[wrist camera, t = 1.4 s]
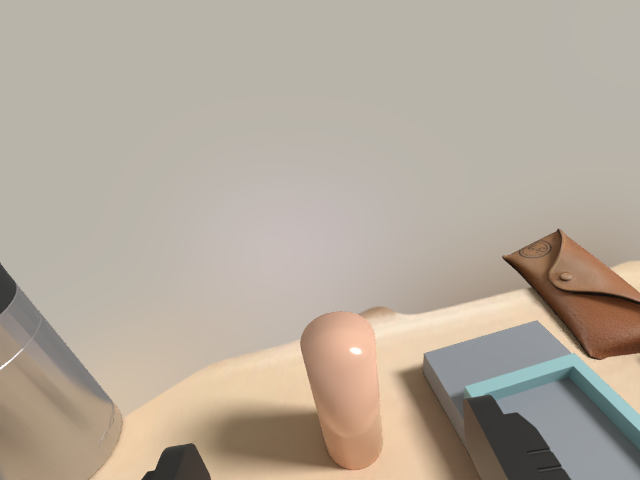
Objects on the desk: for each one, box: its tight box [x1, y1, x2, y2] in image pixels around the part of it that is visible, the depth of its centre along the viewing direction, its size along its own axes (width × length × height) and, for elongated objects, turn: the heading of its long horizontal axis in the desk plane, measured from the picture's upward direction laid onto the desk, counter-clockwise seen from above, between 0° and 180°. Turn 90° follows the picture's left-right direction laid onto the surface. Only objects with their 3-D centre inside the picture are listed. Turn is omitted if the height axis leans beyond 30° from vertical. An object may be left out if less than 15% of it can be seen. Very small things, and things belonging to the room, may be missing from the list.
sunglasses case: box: [502, 229, 640, 360], centre depth 40 cm, size 18×7×7 cm
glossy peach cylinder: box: [300, 311, 383, 470], centre depth 27 cm, size 5×5×13 cm
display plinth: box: [423, 321, 640, 480], centre depth 26 cm, size 12×20×4 cm, turn 13°
